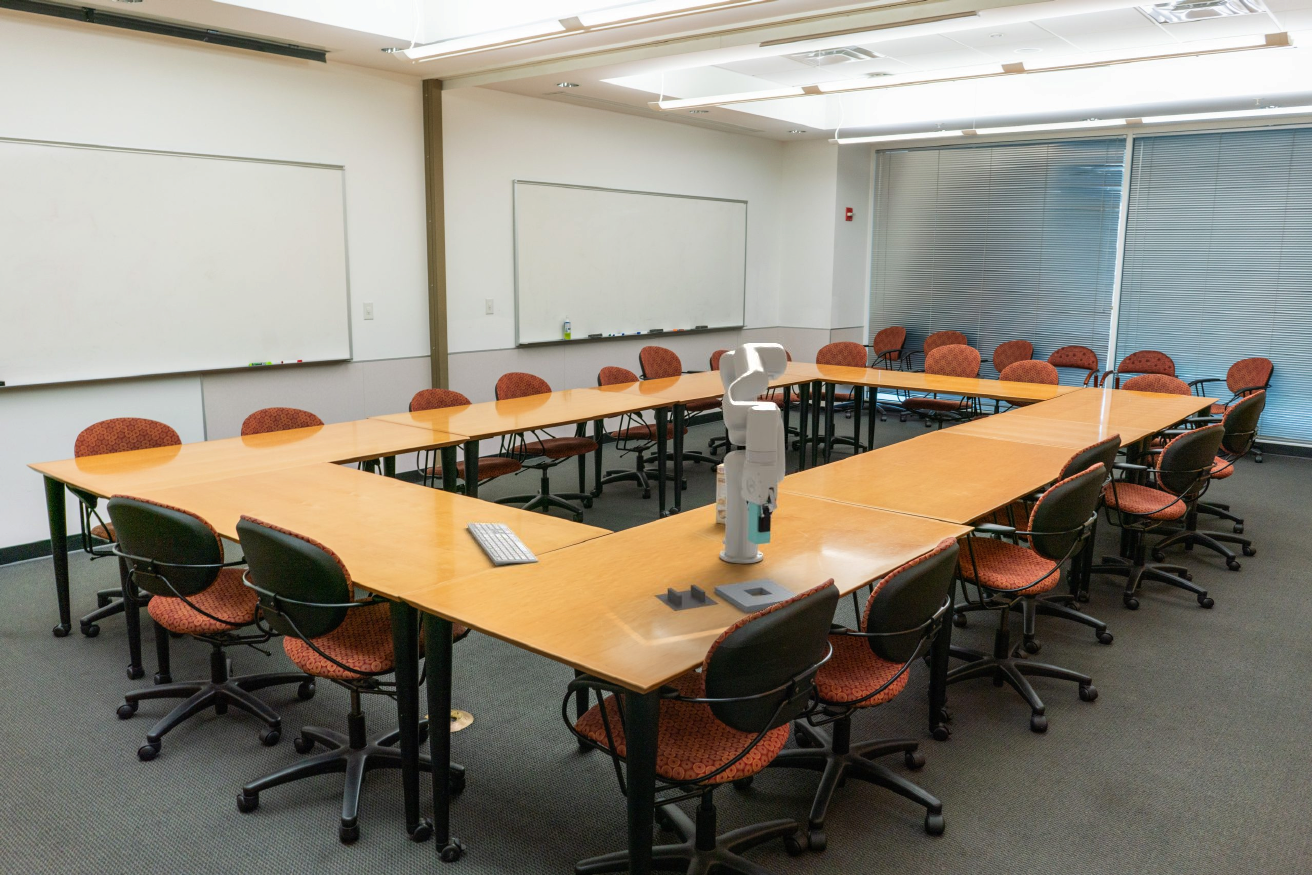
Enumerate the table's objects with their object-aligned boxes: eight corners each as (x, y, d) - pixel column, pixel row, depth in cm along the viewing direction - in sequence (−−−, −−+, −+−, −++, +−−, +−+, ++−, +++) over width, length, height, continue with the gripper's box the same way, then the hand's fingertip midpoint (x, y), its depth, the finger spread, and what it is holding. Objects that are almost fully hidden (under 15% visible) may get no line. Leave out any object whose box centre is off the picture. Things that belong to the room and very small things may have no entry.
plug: (747, 540, 230) (748, 501, 228) (761, 538, 232) (762, 499, 230) (756, 544, 226) (757, 504, 225) (770, 542, 228) (771, 503, 226)
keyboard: (539, 563, 263) (539, 555, 263) (495, 568, 259) (495, 560, 258) (504, 525, 304) (504, 518, 303) (466, 529, 299) (466, 522, 299)
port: (714, 595, 236) (714, 586, 235) (767, 587, 242) (768, 578, 242) (746, 616, 221) (746, 606, 221) (802, 607, 228) (802, 597, 228)
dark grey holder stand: (654, 599, 233) (654, 585, 232) (696, 592, 238) (696, 579, 237) (675, 614, 222) (675, 600, 222) (718, 607, 227) (719, 594, 227)
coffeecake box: (733, 525, 304) (735, 467, 300) (714, 522, 307) (715, 465, 304) (753, 516, 316) (755, 460, 313) (735, 513, 320) (736, 458, 316)
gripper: (730, 452, 232) (729, 523, 235) (766, 464, 217) (763, 539, 220) (756, 450, 235) (754, 520, 238) (793, 461, 220) (790, 536, 223)
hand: (759, 528), depth 229 cm, fingers closed on plug, 4 cm apart
